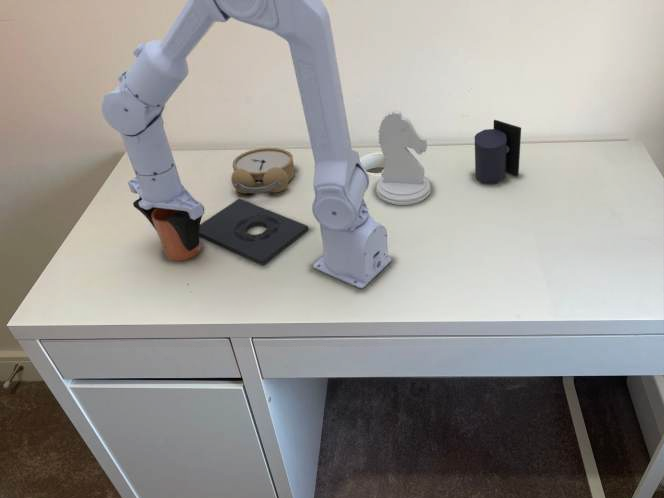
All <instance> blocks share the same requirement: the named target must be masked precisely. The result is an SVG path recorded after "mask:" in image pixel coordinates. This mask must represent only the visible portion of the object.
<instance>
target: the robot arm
mask: <svg viewBox="0 0 664 498" xmlns="http://www.w3.org/2000/svg"><path fill="white" fill-rule="evenodd" d="M230 19H233V20H236V21H238V22H241V23H244V24H247V25H251V26H253V27H257V28H260V29H263V30H266V31H269V32H272V33H274V34H275V35H277V36H279V38H282V39H284V40H285V41H286V42H287V43H288V46H289V50H290V55H291V61H292V64H293V70H294V74H295V78H296V83H297V88H298V92H299V97H300V101H301V105H302V110H303V115H304V119H305V124H306V128H307V133H308V137H309V143H310V146H311V147H310V148H311V151H312V155H313V159H314V171H313V173H314V174H313V190H314V199H313V202H312V207H311V212H312V214H313V217H314V218H315V220H316V222H317V223H319V229H320V237H321V243H322V251H323V256H321V257H320V258H319V259H318V260H316V262H314V263H313V265H312V266H313V269H315V270H318V271H319V272H322V273H324V274H327V275H328V276H331V277H334V278H336V279H338V280H339V281H343V282H344V283H347V284H350V285H352V286H354V287H356V288H358V289H364V288H365V287H366V286H367V285H368V284H369V283H370V282H371V281H372V280H373V279H374V278H375V277H376V276H377V275H379V273H380V272H382V270H384V269H385V268H386V266H387V265H389V263H390V262H392V259H391V257H390V256H389V249H388V248H389V247H388V231H387V229H386V226H384V225H383V224H382V223H379V222H378V221H376V220H375V219H374V218H373V217H372V216H371V214H370V213H369V208H368V205H367V203H366V200H365V199H364V197H365V194H366V192H367V190H368V188H369V185H370V177H369V176H370V175H369V173H368V171H367V170H366V168H365V167H364V166H363V164H362V162H361V160H360V154H359V152H358V151H356V150H354V149H353V148H352V147H353V146H352V141H351V137H350V130H349V124H348V119H347V118H348V117H347V112H346V105H345V100H344V94H343V88H342V83H341V77H340V71H339V65H338V59H337V54H336V48H335V47H336V46H335V42H334V35H333V30H332V23H331V18H330V14H329V11H328V8H327V7H326V5H325V3H324V2H323V1H322V0H187V1H186V2H185V4H184V5H183V7H182V9H181V11H180V12H179V14H178V15H177V17H176V18H175V20H174V22H173V23H172V25H171V27H170V28H169V30H168V31H167V33H166V35H165V36H164V38H163V39H152V40H148V41H147V42H146V43H144V42H142V43H140V44H139V45H137V46H136V48H135V49H134V50H133V52H132V53H133V55H134V56H135V57H136V58H135V59H134V60H133V62H132V64H131V65H130V67H129V68H128V70H124V71H122V72H121V73H119V75H118V77H117V80H118V81H119V85H118V86H117V87H115V89H114V90H111V91H109V92H107V93H106V94H105V95H104V97H103V100H102V102H101V113H102V115H103V118H104V121H106V122H107V124H108V125H109V126H110V127H111V128H112V129H113V130H115V131H116V132H118V133H119V134H120V137H121V140H122V142H123V145H124V148H125V151H126V154H127V156H128V158H129V162H130V164H131V166H132V169H133V171H134V172H133V173H134V174H135V177H134V178H131V179H130V180H128V181H127V184H128V187H129V190H130V193H132V194H135V195H136V194H137V195H138V199H136V200H135V201H133V203H132V205H133V207H134V208H135V209H136V210H138V211H139V212H140V213H141V214H142V215H143V216H144V217H145V218H146V219H147V221H149V223H150V224H151V226H152V227H153V229H154V230H155V231H156V228H155V225H154V223H153V220H152V217H151V214H152V211H153V210H154V209H155V208H164V209H173V210H176V211H177V213H174V214H172V215H171V216H169V217H168V218H166V221H167V222H169V223H170V224H171V225H172V226H173V227H174V229H175V230H176V231H177V233H178V234H179V236H180V238H181V240H182V243H183V245H184V246H185V248H186V249H187V250H188V251H191V250H193V249H194V248H196V247H197V246H199V241H200V236H199V229H200V224H201V222H202V218H203V215H205V206H204V205H203V204H202V202H201V201H198V200H197V199H196V198H195V197H194V196H193V194H192V193H190V191H189V190H188V189H187V188H186V187H185V186H184V184H182V182H181V178H180V175H179V171H178V168H177V165H176V161H175V159H174V156H173V153H172V149H171V146H170V142H169V140H168V139H169V138H168V137H167V133H166V130H165V127H164V124H165V122H164V119H163V112H164V111H165V108H166V104H167V102H168V101H169V100H170V98H171V97H172V96H173V95H174V93H176V91H177V89H178V88H179V86H180V85H181V84H182V83H183V82H184V81H185V79H186V78H187V76H189V63H188V61H187V58H188V56H189V55H190V54H191V53H192V51H194V49H195V48H196V47H197V46H198V44H199V43H200V42H201V41H202V39H203V38H204V37H205V36H206V34H208V32H209V31H210V29H211V28H212V27H213V26H214V25H215V24H216V23H227V21H229V20H230Z"/></svg>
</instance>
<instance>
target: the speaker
mask: <svg viewBox="0 0 664 498" xmlns="http://www.w3.org/2000/svg"><path fill="white" fill-rule="evenodd" d="M521 140H522V127H521V126H517V125H515V124H511V123H508V122H504V121H501V120H497V119H494V120H493V128H488V129H483V130H481V131H478V132H477V133H476V134H475V135H474V167H475V168H474V172H475V179H476V180H477V181H478V182H479V183H481V184H483V185H497V184H499V183H500V182H502V181H503V180H505V178H506V175H507V174H509V175H511V176H514V177H519V175H520V173H519V172H520V158H521V157H520V156H521Z"/></svg>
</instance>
